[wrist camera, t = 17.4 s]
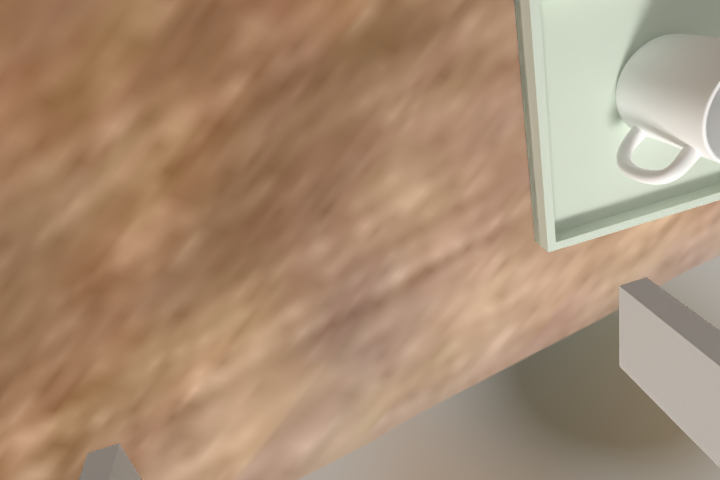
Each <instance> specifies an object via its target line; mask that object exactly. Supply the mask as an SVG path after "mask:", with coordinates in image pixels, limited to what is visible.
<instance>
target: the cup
mask: <svg viewBox="0 0 720 480" xmlns="http://www.w3.org/2000/svg"><path fill="white" fill-rule="evenodd" d="M616 105H617V110H618V113H619V115H620V117H621V119H622V120H623V121H624V123H625V124H626V125H627V126H628V127H629V128H631V130H630V131H629V132H628V134H627V135H626V136H625V138H624V139H623V141H622V142H621V144H620V146H619V148H618V151H617V165H618V167H619V169H620V170H621V171H622V173H623V174H625V175H626V176H627V177H629V178H631V179H633V180H635V181H638V182H641V183H645V184H653V185H659V184H667V183H670V182H673V181H675V180H677V179H679V178H680V177H682V176H683V175H684V174H685V173H686V172H687V171H688V170H689V169H690V168H691V167H692V166H693V165H694V164H695V162H696V161H697V160H698V159H699V158H700V156H701V157H704V158H707V159H709V160H712V161H715V162H717V163H720V37H710V36H701V35H691V34H667V35H663V36H660V37H657V38H655V39H653V40H651V41H649V42H647V43H646V44H644V45H643V46H642V47H640V48H639V49H638V50H637V51H636V52H635V53H634V54H633V55H632V56H631V57H630V59H629V60H628V61H627V63H626V64H625V66H624V68H623V70H622V72H621V74H620V76H619V79H618V83H617V87H616ZM646 136H647V137H650V138H653V139H656V140H658V141H661V142H664V143H666V144H669V145H672V146H674V147H677V148H680V149H682V150H681V151H680V153H679V154H678V155H677V157H676V158H675V159H674V161H673V162H672V163H671V164H670V165H669V166H668V167H666V168H665V169H662V170H647V169H643V168H640V167H638V166H636V165H635V164H634V163H633V162H632V160H631V156H632V154H633V152H634V150H635V149H636V147H637V146H638V145H639V144H640V142H641V141H642V140H643V139H644V138H645V137H646Z"/></svg>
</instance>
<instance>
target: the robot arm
mask: <svg viewBox="0 0 720 480" xmlns="http://www.w3.org/2000/svg"><path fill="white" fill-rule="evenodd" d="M619 337H620V338H619V342H620V343H619V347H620V348H619V354H620V357H619V359H620V360H619V361H620V362H619V363H620V367H621V368H622V369H623V370H624V371H625V372H626V373H627V374H628V375H629V376H630V377H631V378H632V379H633V380H634V381H635V382H636V383H637V384H638V385H639V386H640V388H641V389H642V390H644V392H645V393H646V394H647V395H648V396H649V397H651V399H652V400H653V401H654V402H655V403H656V404H657V405H658V406H659V407H660V408H661V409H662V410H663V411H664V412H665V413H666V414H667V415H668V416H669V417H670V418H671V419H672V420H673V421H674V422H675V423H676V424H677V425H678V426H679V427H680V428H681V429H682V430H683V431H684V432H685V433H686V434H687V435H688V436H689V437H690V438H691V439H692V440H693V441H694V442H695V443H696V444H697V445H698V446H699V447H700V448H701V449H702V450H703V451H704V452H705V453H706V454H707V455H708V456H709V457H710V458H711V460H713V462H715V463H716V464H717V465H718V467H720V330H718V329H717V328H716V327H714V326H713V325H711V324H710V323H709V322H707V321H706V320H704V319H703V318H702V317H700V316H699V315H698V314H696V313H695V312H693V311H692V310H691V309H689V308H688V307H687V306H685V305H684V304H682V303H681V302H680V301H678V300H677V299H675V298H674V297H673V296H671V295H670V294H669V293H667V292H666V291H664V290H663V289H662V288H660V287H659V286H658V285H656V284H655V283H653V282H652V281H651V280H649V279H648V278H643V279H640V280H637V281H633V282H630V283H627V284H624V285H621V286H619ZM79 480H142V479H141V477H140V476H139V474H138V473H137V471H136V469H135V468H134V466H133V465H132V463H131V461H130V460H129V458H128V456H127V455H126V453H125V452H124V450H123V448H122V447H121V445H120V444H116V445H112V446H109V447H106V448H103V449H100V450H96V451H93V452H90V453H88V455H87V458H86V460H85V463H84V466H83V469H82V472H81V475H80V478H79Z"/></svg>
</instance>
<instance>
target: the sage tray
mask: <svg viewBox="0 0 720 480" xmlns="http://www.w3.org/2000/svg"><path fill="white" fill-rule="evenodd" d="M514 3H515V15H516V27H517V38H518V50H519V61H520V73H521V84H522V96H523V108H524V119H525V131H526V142H527V154H528V166H529V177H530V189H531V200H532V212H533V223H534V235H535V241H536V242H537V243H538V244H539V245H540V246H541V247H542V248H544V249H545V250H546V251H547V252H552V251H555V250H558V249H561V248H565V247H568V246H571V245H574V244H578V243H581V242H584V241H587V240H591V239H594V238H597V237H600V236H604V235H607V234H610V233H613V232H617V231H620V230H623V229H626V228H630V227H633V226H636V225H640V224H643V223H646V222H649V221H653V220H656V219H659V218H662V217H666V216H669V215H672V214H675V213H679V212H682V211H685V210H688V209H692V208H695V207H698V206H701V205H705V204H708V203H711V202H714V201H718V200H720V163H717V162H715V161H712V160H709V159H707V158H704V157H701V156H700V158H699V159H698V160H697V161H696V162H695V164H694V165H693V166H692V167H691V168H690V169H689V170H688V171H687V172H686V173H685V174H684V175H683V176H682V177H680V178H679V179H677V180H675V181H673V182H670V183H667V184H659V185H653V184H645V183H641V182H638V181H635V180H633V179H631V178H629V177H627V176H626V175H625V174H623V173H622V171H621V170H620V169H619V167H618V165H617V151H618V148H619V146H620V144H621V142H622V141H623V139H624V138H625V136H626V135H627V134H628V132H629V131H630V130H631V128H629V127H628V126H627V125H626V124H625V123H624V121H623V120H622V119H621V117H620V115H619V113H618V110H617V105H616V87H617V83H618V79H619V76H620V74H621V72H622V70H623V68H624V66H625V64H626V63H627V61H628V60H629V59H630V57H631V56H632V55H633V54H634V53H635V52H636V51H637V50H638V49H639V48H640V47H642V46H643V45H644V44H646V43H647V42H649V41H651V40H653V39H655V38H657V37H660V36H663V35H667V34H691V35H701V36H710V37H720V0H514ZM681 150H682V149H680V148H677V147H674V146H672V145H669V144H666V143H664V142H661V141H658V140H656V139H653V138H650V137H647V136H646V137H645V138H644V139H643V140H642V141H641V142H640V144H639V145H638V146H637V147H636V149H635V150H634V152H633V154H632V156H631V160H632V162H633V163H634V164H635V165H636V166H638V167H640V168H643V169H647V170H662V169H665V168H666V167H668V166H669V165H670V164H671V163H672V162H673V161H674V159H675V158H676V157H677V155H678V154H679V153H680V151H681Z"/></svg>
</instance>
